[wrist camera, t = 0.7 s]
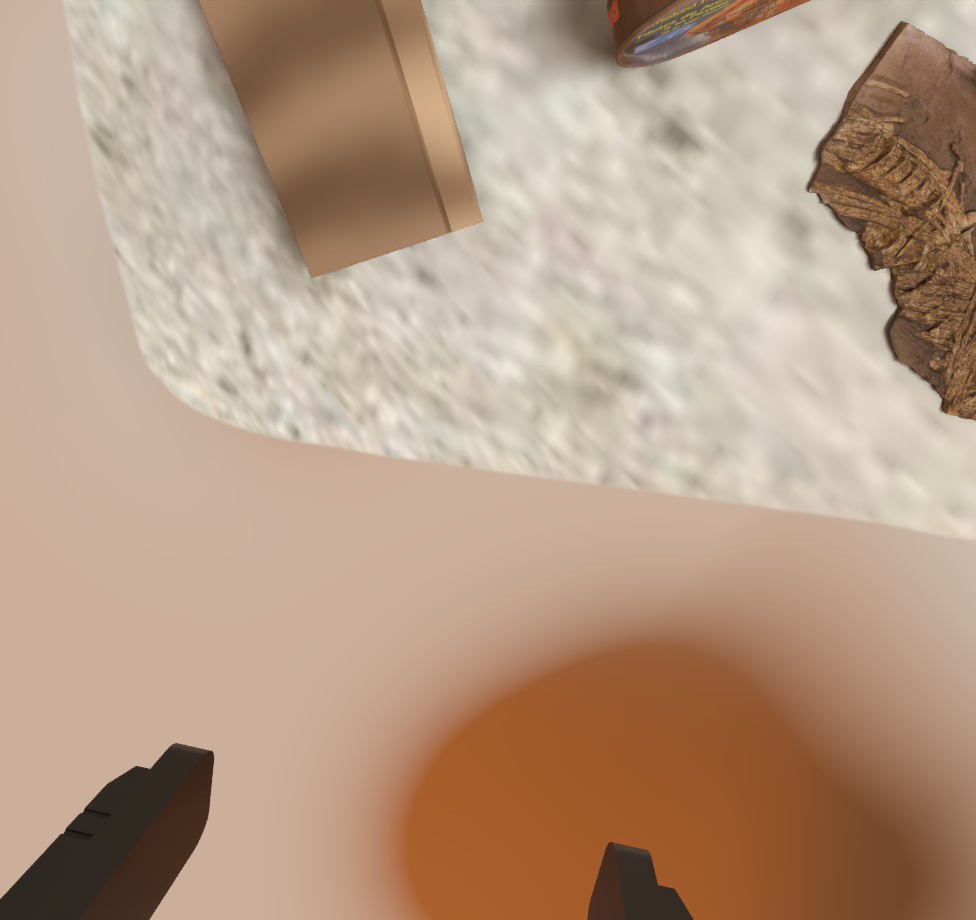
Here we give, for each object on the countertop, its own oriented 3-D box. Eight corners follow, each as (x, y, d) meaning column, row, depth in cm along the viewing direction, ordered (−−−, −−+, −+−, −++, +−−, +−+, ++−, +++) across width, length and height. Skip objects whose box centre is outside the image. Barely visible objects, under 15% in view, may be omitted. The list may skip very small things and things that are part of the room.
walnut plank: (180, -150, 28) (118, -200, 24) (353, -257, 25) (313, -330, 22) (340, 268, 35) (311, 278, 31) (487, 220, 32) (473, 224, 29)
